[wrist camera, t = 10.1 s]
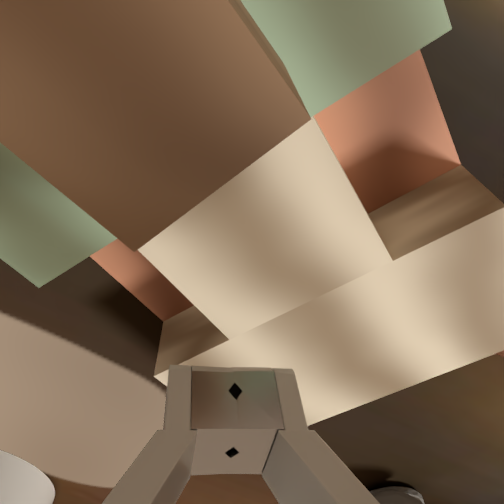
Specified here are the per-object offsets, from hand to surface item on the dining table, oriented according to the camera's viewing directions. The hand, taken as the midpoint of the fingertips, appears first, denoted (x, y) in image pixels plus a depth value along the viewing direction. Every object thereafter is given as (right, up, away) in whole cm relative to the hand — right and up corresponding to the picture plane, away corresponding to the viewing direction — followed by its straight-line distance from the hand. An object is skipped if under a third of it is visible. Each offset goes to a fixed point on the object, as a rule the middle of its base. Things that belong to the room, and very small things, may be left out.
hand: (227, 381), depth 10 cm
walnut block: (-2, +9, +2) cm, 9 cm away
